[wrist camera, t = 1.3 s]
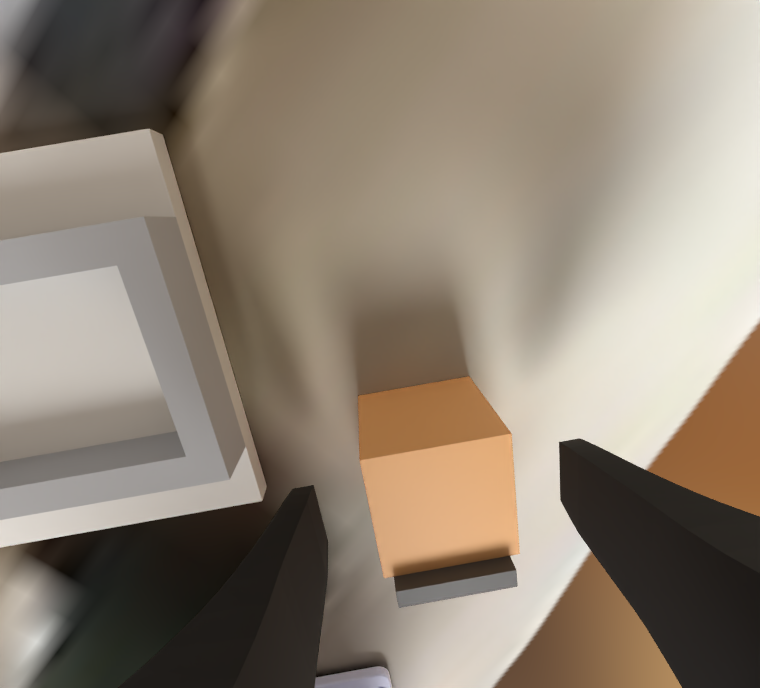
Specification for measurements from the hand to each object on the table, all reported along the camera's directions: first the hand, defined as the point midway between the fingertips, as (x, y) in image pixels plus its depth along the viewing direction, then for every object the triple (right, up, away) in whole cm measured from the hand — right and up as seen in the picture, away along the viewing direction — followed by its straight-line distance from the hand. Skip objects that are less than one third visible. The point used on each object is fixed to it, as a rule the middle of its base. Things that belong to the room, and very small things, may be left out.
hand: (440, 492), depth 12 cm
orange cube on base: (0, +1, +3) cm, 3 cm away
